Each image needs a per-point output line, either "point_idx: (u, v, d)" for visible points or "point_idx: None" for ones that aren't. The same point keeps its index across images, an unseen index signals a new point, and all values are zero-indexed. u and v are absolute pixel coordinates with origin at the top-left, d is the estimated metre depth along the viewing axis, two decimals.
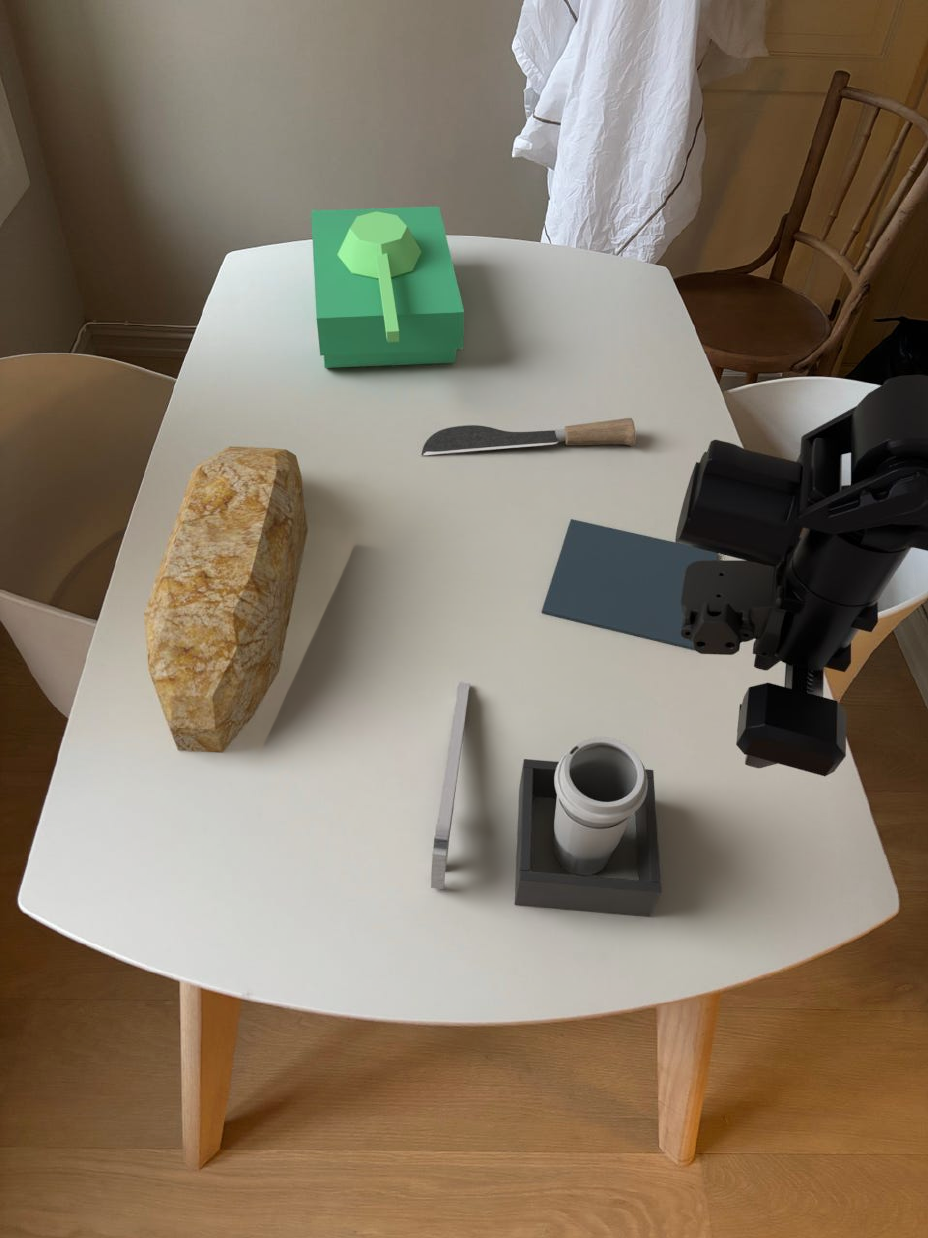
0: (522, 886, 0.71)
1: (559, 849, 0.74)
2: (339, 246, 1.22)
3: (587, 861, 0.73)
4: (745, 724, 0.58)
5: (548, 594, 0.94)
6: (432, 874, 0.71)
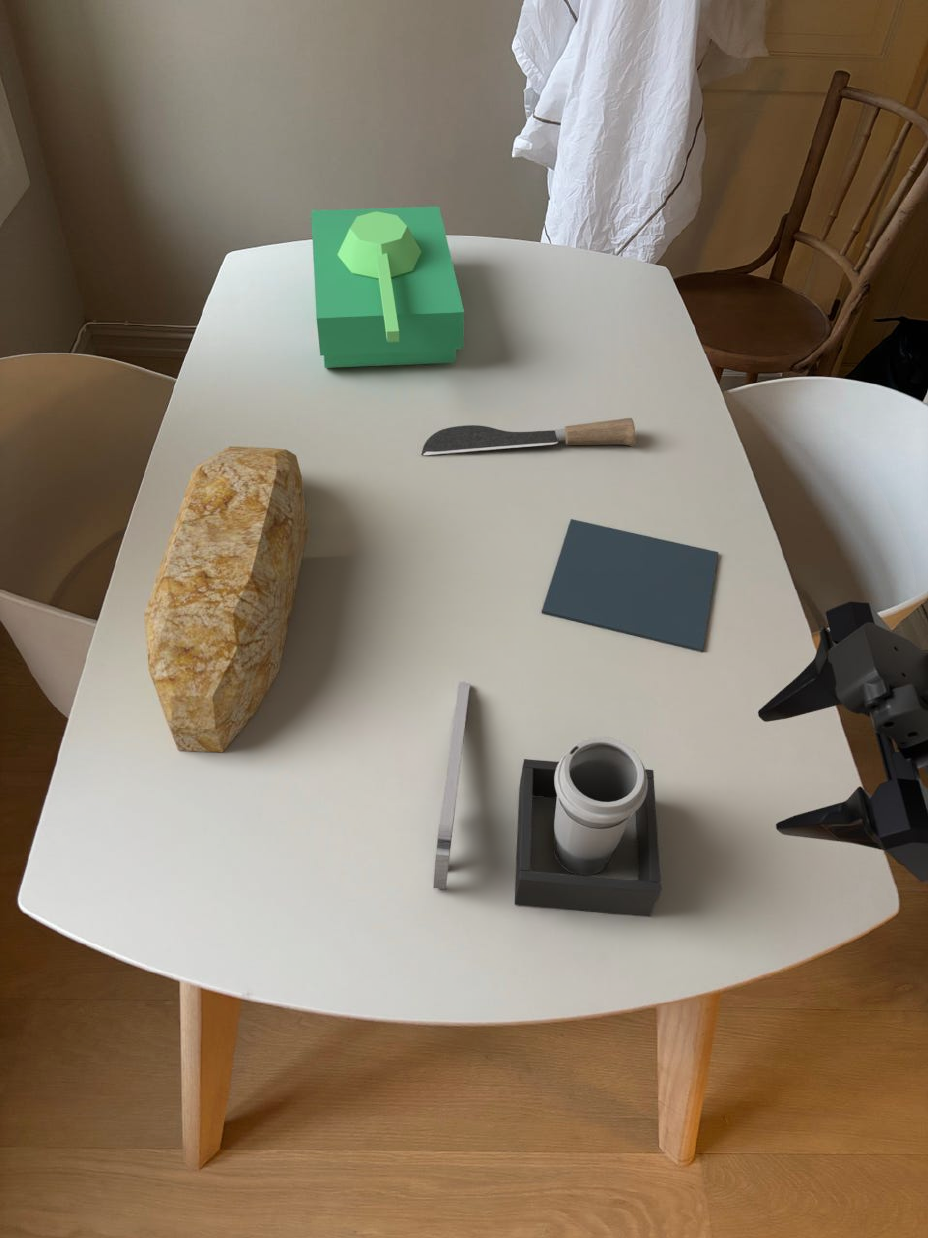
0: (522, 886, 0.71)
1: (559, 849, 0.74)
2: (339, 246, 1.22)
3: (587, 861, 0.73)
4: (907, 822, 0.54)
5: (548, 594, 0.94)
6: (435, 874, 0.71)
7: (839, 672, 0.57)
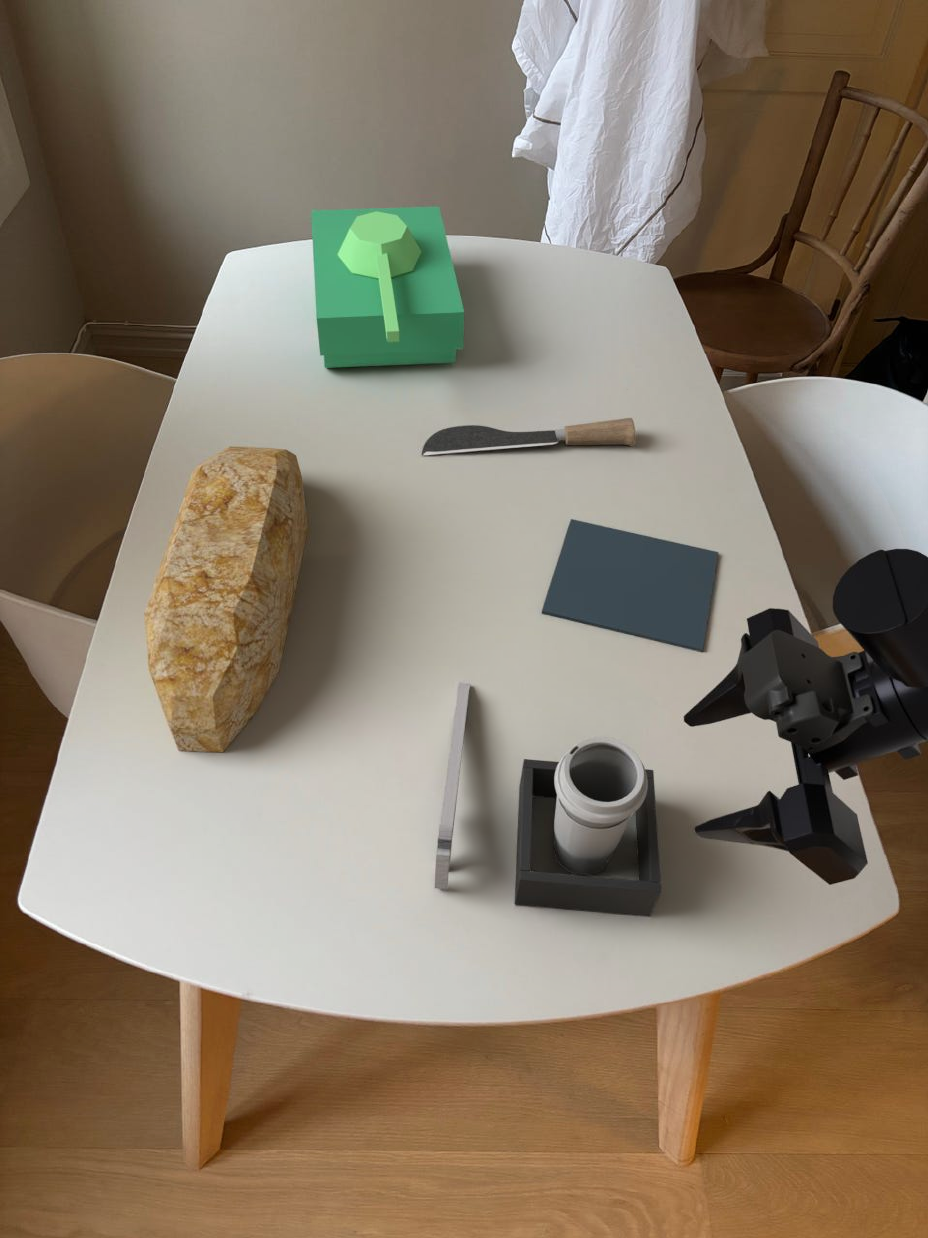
0: (522, 886, 0.71)
1: (559, 849, 0.74)
2: (339, 246, 1.22)
3: (587, 861, 0.73)
4: (810, 827, 0.55)
5: (548, 594, 0.94)
6: (436, 874, 0.71)
7: (748, 679, 0.58)
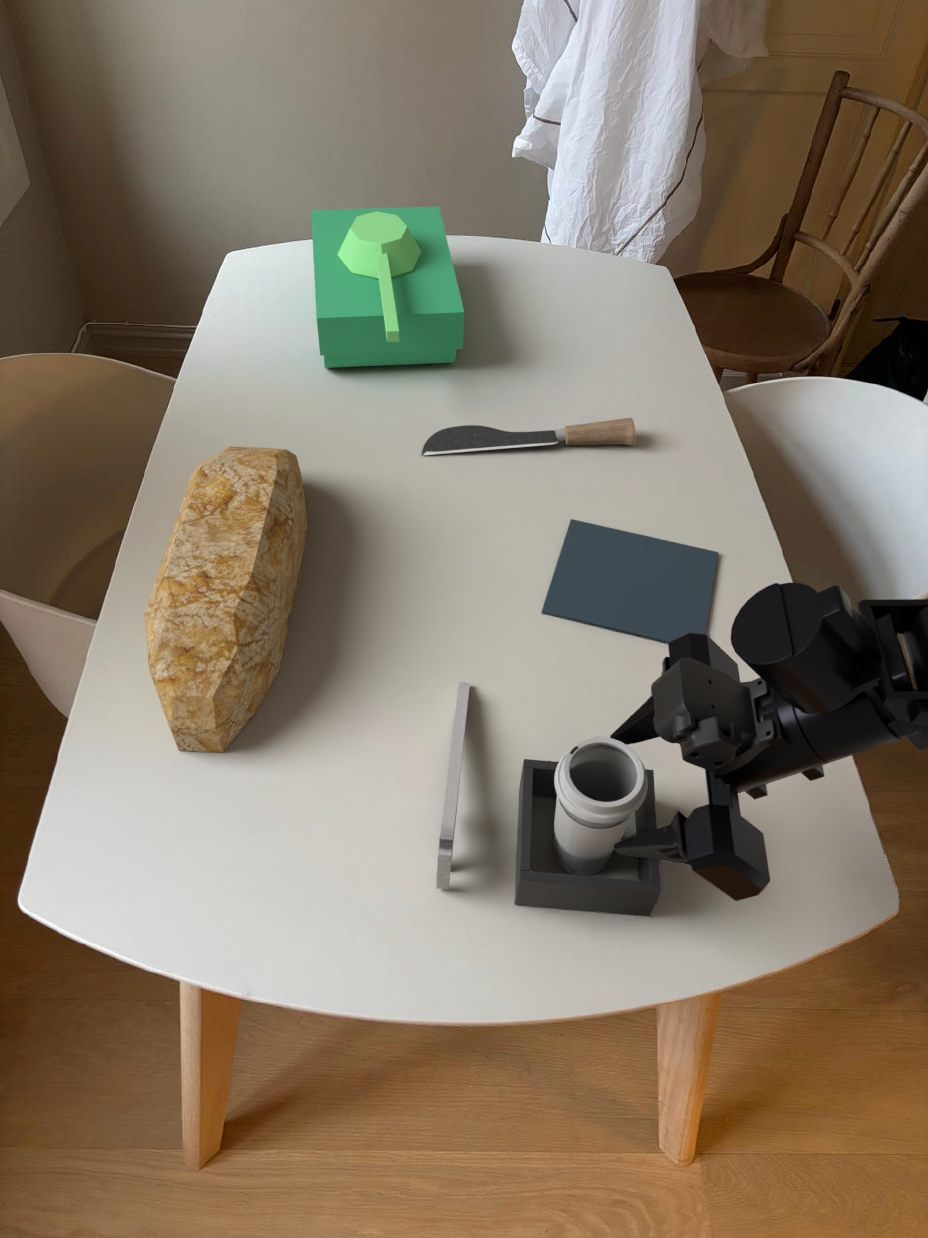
0: (522, 886, 0.71)
1: (559, 849, 0.74)
2: (339, 246, 1.22)
3: (587, 861, 0.73)
4: (711, 846, 0.58)
5: (548, 594, 0.94)
6: (438, 874, 0.71)
7: (657, 704, 0.61)
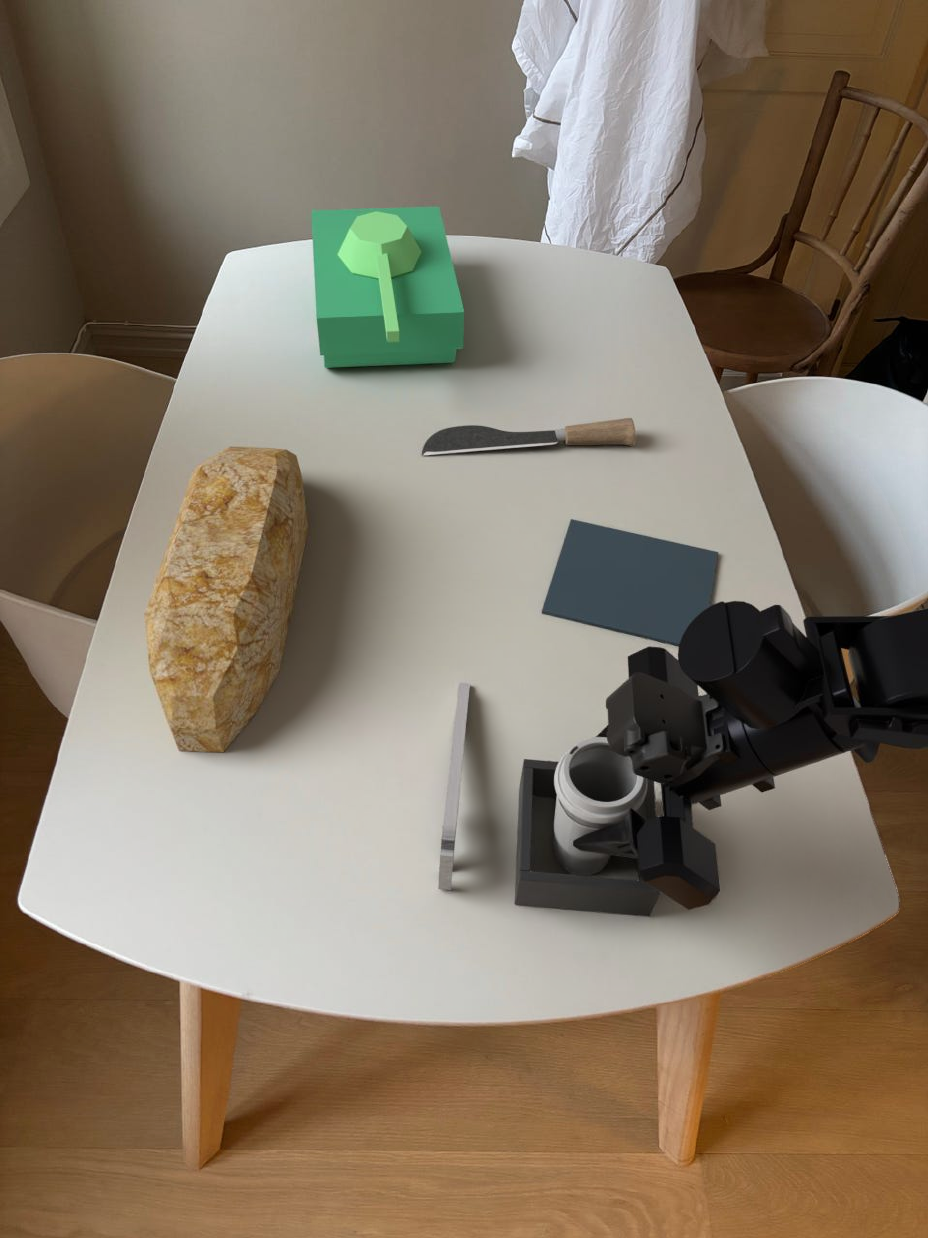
0: (522, 886, 0.71)
1: (559, 849, 0.74)
2: (339, 246, 1.22)
3: (587, 861, 0.73)
4: (661, 857, 0.59)
5: (548, 594, 0.94)
6: (440, 875, 0.72)
7: (611, 718, 0.62)
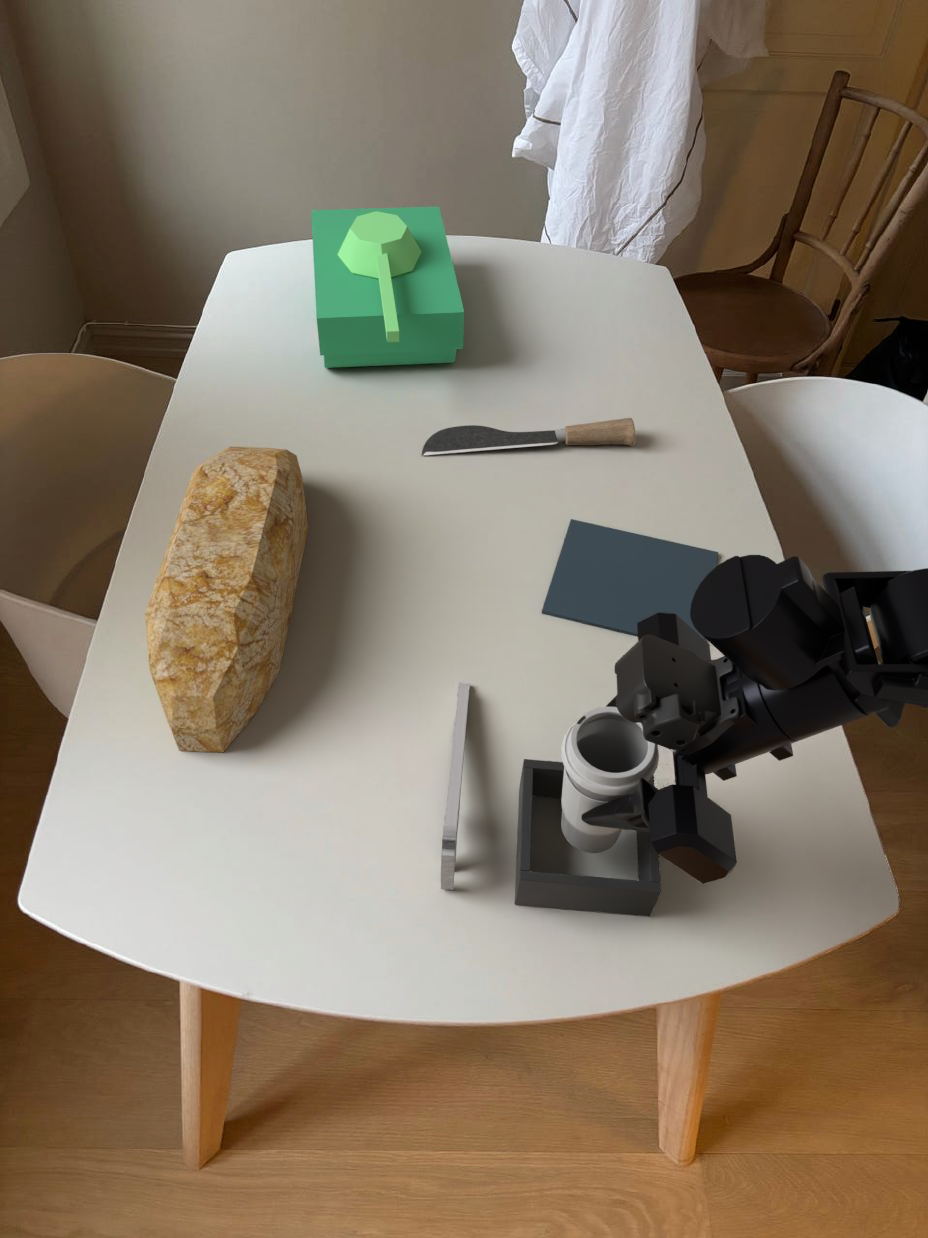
0: (522, 886, 0.71)
1: (567, 826, 0.71)
2: (339, 246, 1.22)
3: (596, 837, 0.70)
4: (674, 827, 0.56)
5: (548, 594, 0.94)
6: (441, 875, 0.72)
7: (620, 683, 0.59)
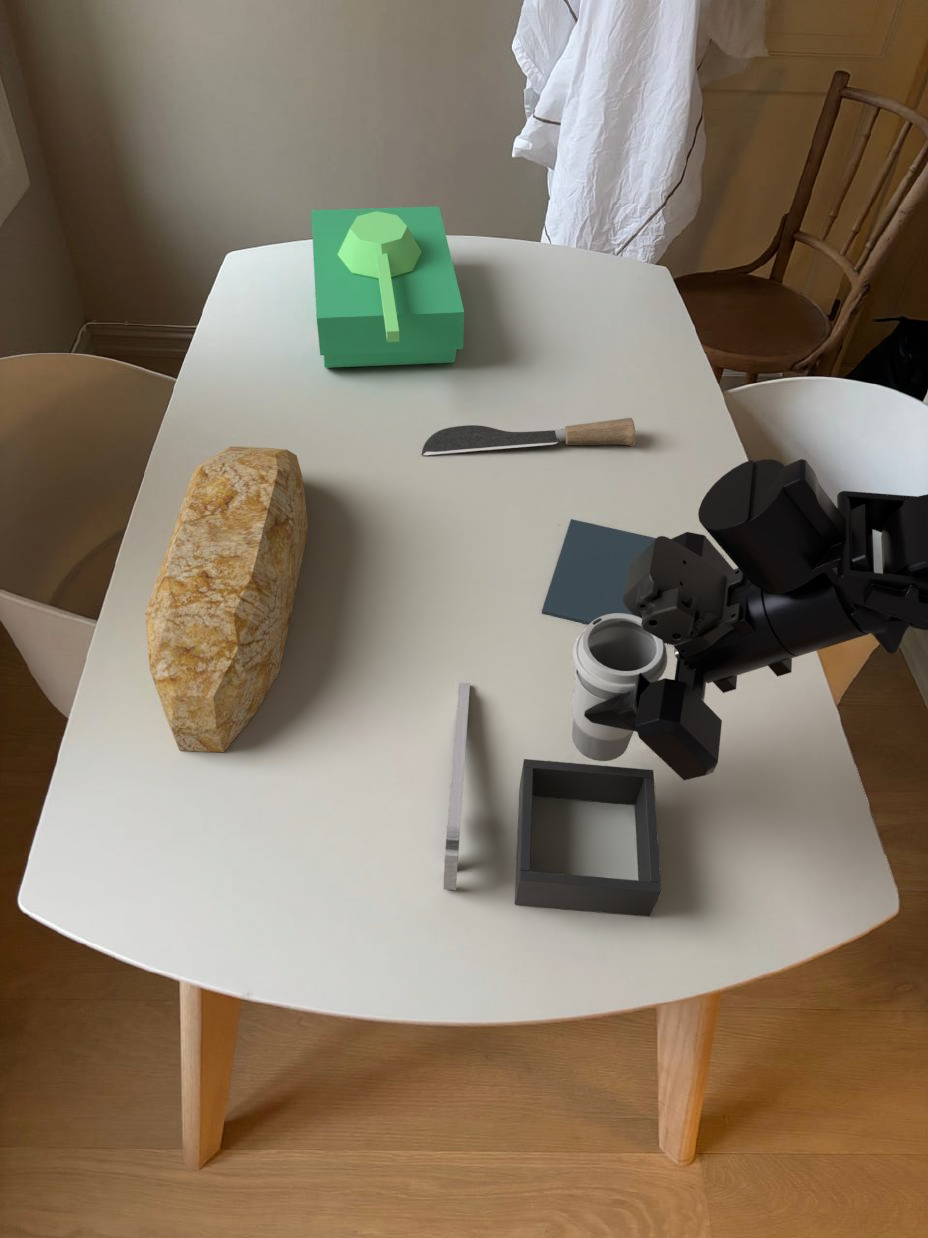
0: (522, 886, 0.71)
1: (575, 729, 0.74)
2: (339, 246, 1.22)
3: (600, 742, 0.73)
4: (658, 714, 0.59)
5: (548, 594, 0.94)
6: (445, 875, 0.72)
7: (630, 578, 0.62)
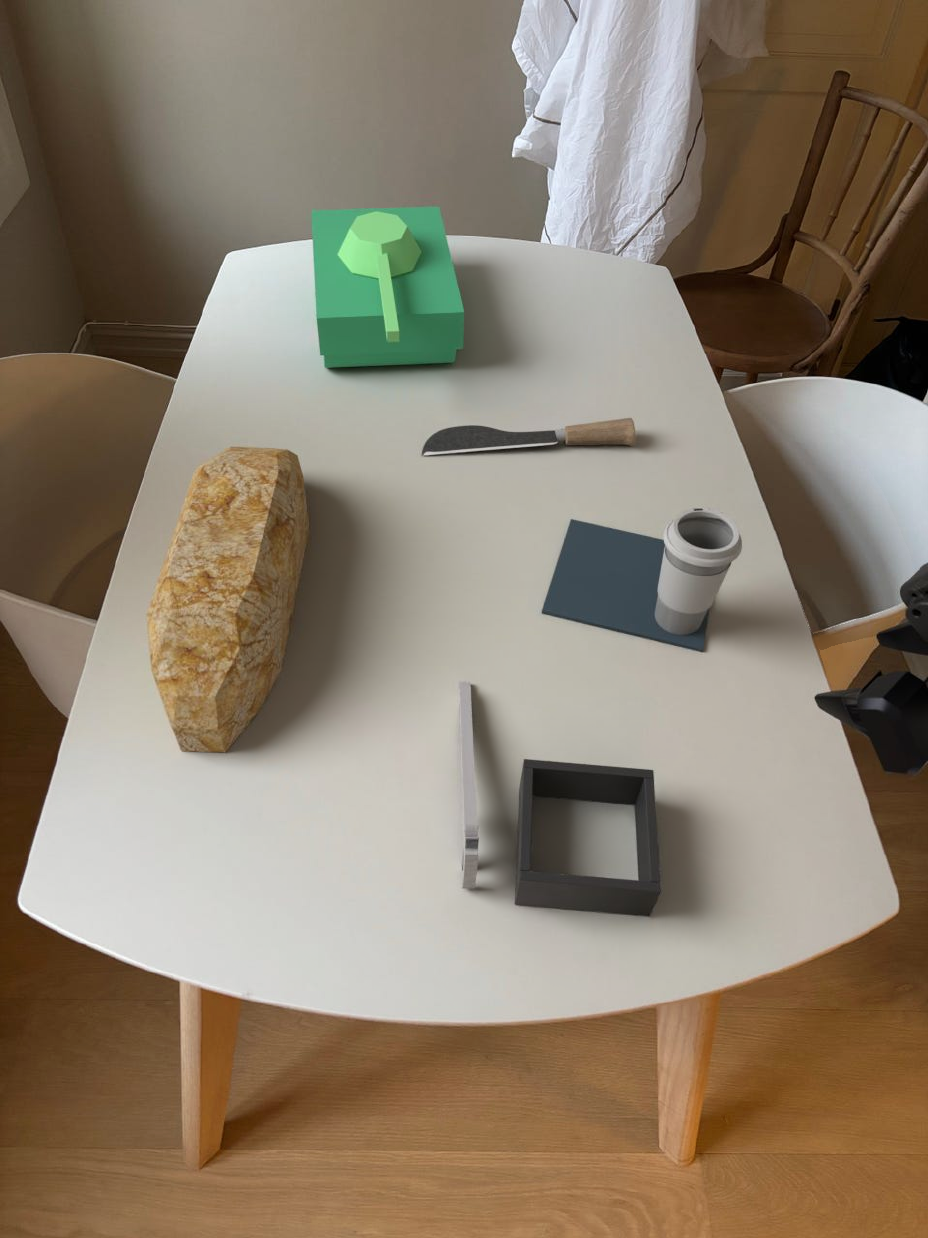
0: (522, 886, 0.71)
1: None
2: (339, 246, 1.22)
3: (668, 611, 0.90)
4: (884, 694, 0.61)
5: (548, 594, 0.94)
6: (465, 875, 0.72)
7: (917, 573, 0.64)
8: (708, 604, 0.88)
